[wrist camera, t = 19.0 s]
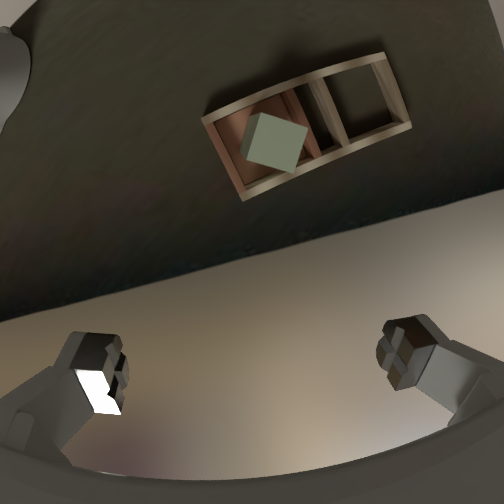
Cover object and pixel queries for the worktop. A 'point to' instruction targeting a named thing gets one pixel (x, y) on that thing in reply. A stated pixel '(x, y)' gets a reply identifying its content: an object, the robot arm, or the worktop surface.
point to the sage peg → (272, 142)
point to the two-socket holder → (274, 106)
